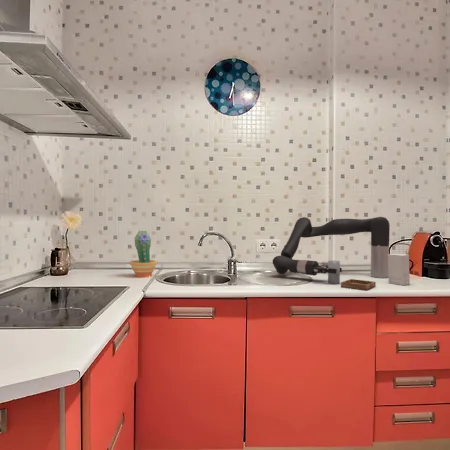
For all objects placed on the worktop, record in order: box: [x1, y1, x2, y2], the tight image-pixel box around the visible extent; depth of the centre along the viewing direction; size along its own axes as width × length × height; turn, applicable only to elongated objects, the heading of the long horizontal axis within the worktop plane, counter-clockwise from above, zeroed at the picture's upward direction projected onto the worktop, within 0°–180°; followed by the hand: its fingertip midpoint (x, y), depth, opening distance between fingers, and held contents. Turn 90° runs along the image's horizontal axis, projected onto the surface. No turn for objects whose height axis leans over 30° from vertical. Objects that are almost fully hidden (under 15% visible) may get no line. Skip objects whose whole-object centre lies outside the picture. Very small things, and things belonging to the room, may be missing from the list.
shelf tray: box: [340, 278, 377, 292], centre depth 176 cm, size 12×12×2 cm
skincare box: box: [387, 253, 411, 286], centre depth 185 cm, size 8×6×15 cm
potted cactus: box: [128, 230, 158, 278], centre depth 205 cm, size 15×15×25 cm
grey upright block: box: [327, 260, 341, 285], centre depth 185 cm, size 6×6×11 cm
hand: (338, 270), depth 184 cm, fingers closed on grey upright block, 5 cm apart
